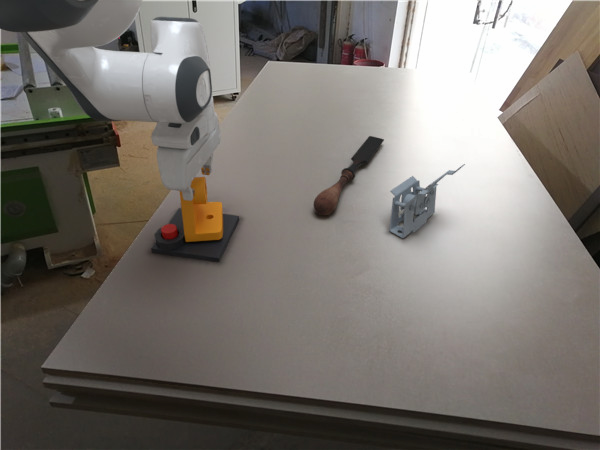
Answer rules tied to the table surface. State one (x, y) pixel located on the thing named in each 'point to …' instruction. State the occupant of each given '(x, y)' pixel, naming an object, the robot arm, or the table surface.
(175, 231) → the button
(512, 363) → the table surface
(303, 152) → the table surface
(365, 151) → the chisel
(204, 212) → the bracket
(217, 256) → the scale
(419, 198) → the bracket
